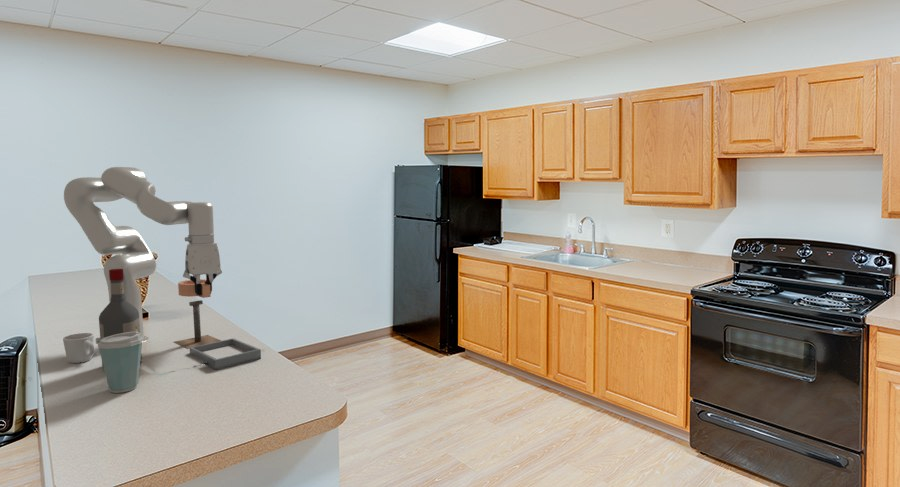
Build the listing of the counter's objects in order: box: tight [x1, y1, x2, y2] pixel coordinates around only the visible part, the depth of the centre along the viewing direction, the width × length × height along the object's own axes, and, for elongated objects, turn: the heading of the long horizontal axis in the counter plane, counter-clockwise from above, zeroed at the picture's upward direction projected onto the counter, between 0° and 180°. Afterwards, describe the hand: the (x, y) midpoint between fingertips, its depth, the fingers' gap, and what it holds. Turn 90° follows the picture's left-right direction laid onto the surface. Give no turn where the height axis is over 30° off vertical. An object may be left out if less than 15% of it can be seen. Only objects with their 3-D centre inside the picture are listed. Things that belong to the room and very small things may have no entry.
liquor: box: [98, 269, 143, 369], centre depth 165 cm, size 9×9×30 cm
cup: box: [62, 332, 95, 364], centre depth 171 cm, size 11×8×8 cm
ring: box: [177, 278, 213, 299], centre depth 185 cm, size 10×14×4 cm
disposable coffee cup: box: [97, 332, 144, 394], centre depth 148 cm, size 11×11×15 cm
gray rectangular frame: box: [189, 338, 262, 371], centre depth 175 cm, size 15×19×3 cm
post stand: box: [173, 299, 222, 350], centre depth 188 cm, size 12×12×15 cm
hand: (203, 293), depth 182 cm, fingers closed on ring, 2 cm apart
